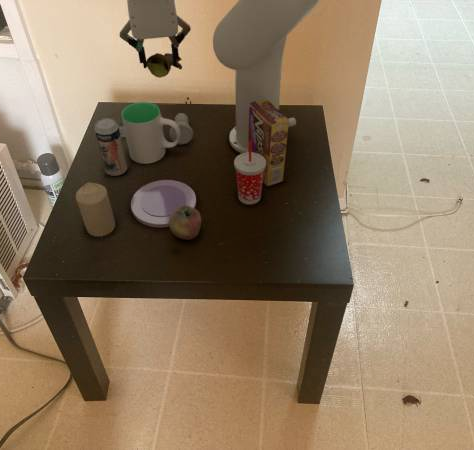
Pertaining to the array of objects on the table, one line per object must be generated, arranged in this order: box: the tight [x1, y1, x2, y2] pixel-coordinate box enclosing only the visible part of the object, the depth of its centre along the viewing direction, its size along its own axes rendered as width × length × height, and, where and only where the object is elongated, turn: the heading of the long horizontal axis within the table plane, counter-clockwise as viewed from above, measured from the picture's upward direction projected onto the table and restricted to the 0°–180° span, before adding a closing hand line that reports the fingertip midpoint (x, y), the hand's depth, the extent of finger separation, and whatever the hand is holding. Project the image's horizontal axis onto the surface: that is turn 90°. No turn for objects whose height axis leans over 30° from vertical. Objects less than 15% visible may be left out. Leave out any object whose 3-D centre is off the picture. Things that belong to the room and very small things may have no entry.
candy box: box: [248, 99, 290, 187], centre depth 99 cm, size 9×4×15 cm, turn 27°
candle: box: [75, 181, 116, 238], centre depth 90 cm, size 6×6×10 cm
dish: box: [130, 179, 197, 229], centre depth 97 cm, size 13×13×1 cm
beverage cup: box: [233, 140, 266, 205], centre depth 94 cm, size 6×6×14 cm
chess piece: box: [168, 112, 194, 146], centre depth 113 cm, size 5×5×9 cm
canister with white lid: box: [94, 117, 128, 176], centre depth 101 cm, size 5×5×12 cm
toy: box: [146, 52, 183, 79], centre depth 113 cm, size 7×5×10 cm
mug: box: [120, 101, 181, 165], centre depth 105 cm, size 12×8×10 cm, turn 87°
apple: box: [168, 206, 202, 241], centre depth 89 cm, size 6×8×6 cm
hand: (160, 63), depth 111 cm, fingers closed on toy, 6 cm apart
